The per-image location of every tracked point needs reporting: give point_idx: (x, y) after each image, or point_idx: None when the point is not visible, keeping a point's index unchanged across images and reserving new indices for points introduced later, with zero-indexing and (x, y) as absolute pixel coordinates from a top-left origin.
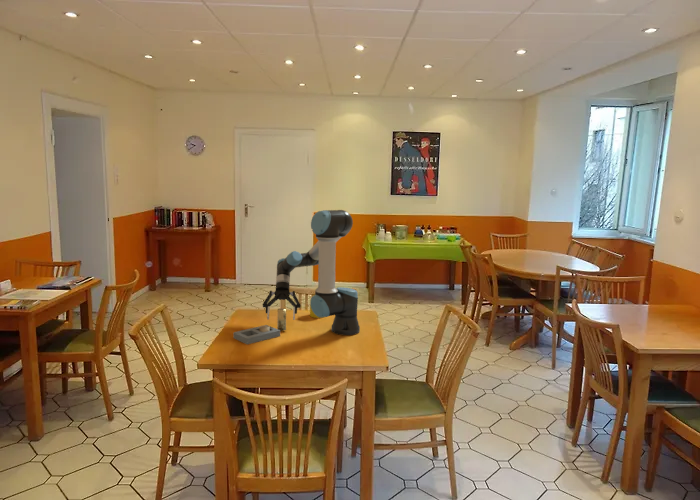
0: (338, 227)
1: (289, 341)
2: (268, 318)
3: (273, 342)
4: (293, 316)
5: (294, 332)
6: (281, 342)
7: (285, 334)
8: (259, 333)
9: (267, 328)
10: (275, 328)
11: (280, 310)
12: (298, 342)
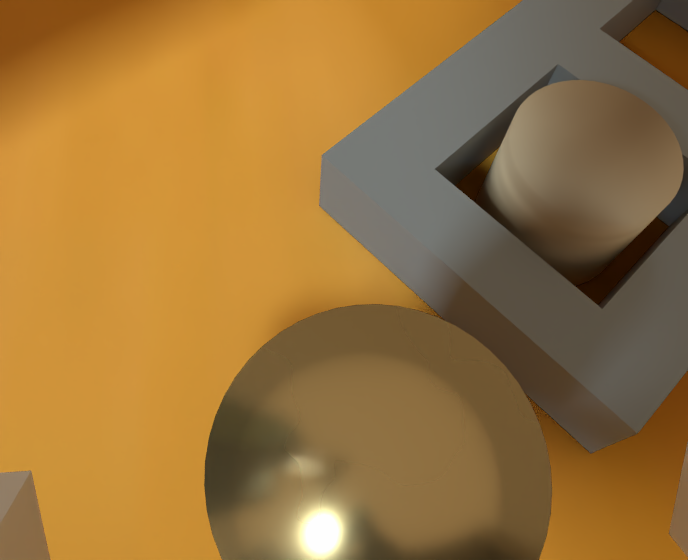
0: None
1: (183, 37)
2: (683, 487)
3: (371, 7)
4: (8, 494)
5: (101, 379)
6: (279, 9)
7: (248, 274)
8: (591, 27)
9: (528, 99)
10: (417, 234)
11: (411, 316)
12: (72, 13)
